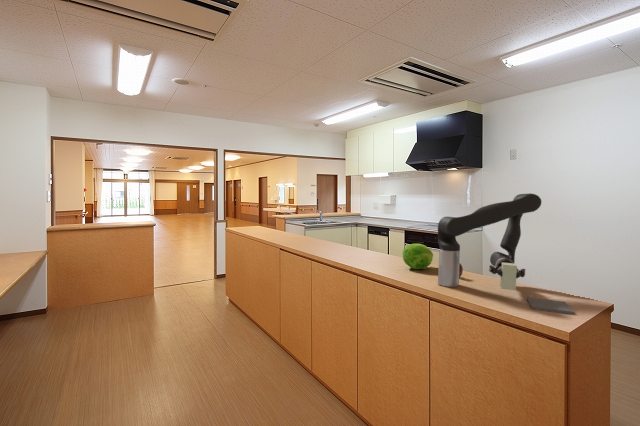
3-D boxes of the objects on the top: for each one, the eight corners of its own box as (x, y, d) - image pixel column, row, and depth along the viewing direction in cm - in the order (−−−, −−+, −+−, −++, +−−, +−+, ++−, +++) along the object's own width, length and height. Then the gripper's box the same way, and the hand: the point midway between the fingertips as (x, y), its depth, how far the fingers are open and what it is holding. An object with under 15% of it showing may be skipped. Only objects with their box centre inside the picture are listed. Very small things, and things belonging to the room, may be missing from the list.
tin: (438, 272, 184) (439, 258, 183) (443, 272, 185) (443, 257, 184) (458, 279, 169) (459, 263, 169) (463, 278, 171) (464, 263, 170)
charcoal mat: (532, 309, 125) (532, 306, 125) (527, 299, 137) (527, 297, 137) (573, 314, 120) (574, 311, 120) (564, 303, 132) (564, 301, 132)
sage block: (501, 288, 133) (502, 264, 132) (500, 285, 137) (501, 262, 137) (515, 290, 131) (517, 265, 130) (514, 287, 135) (515, 263, 135)
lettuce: (438, 272, 193) (443, 247, 192) (416, 273, 182) (421, 247, 180) (415, 264, 207) (420, 241, 205) (394, 264, 195) (399, 240, 194)
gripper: (487, 257, 149) (489, 263, 134) (524, 260, 143) (530, 267, 128) (487, 273, 150) (488, 281, 134) (523, 277, 144) (529, 286, 128)
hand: (509, 274), depth 131 cm, fingers closed on sage block, 5 cm apart
